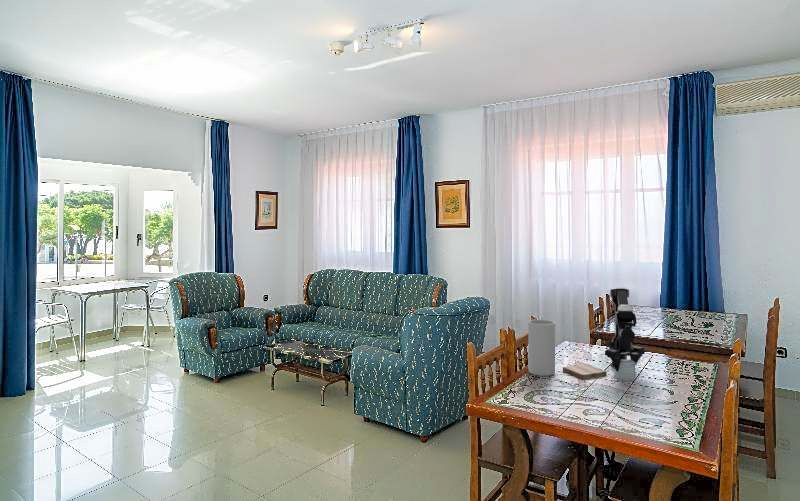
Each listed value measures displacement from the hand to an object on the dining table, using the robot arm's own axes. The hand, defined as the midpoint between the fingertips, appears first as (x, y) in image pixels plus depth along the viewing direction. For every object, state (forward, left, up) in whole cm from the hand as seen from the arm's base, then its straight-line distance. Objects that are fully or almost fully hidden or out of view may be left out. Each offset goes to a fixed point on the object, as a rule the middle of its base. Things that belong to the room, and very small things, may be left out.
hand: (624, 370), depth 224 cm
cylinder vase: (+29, -23, -4) cm, 37 cm away
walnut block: (+11, -14, -4) cm, 18 cm away
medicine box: (0, 0, -4) cm, 4 cm away
